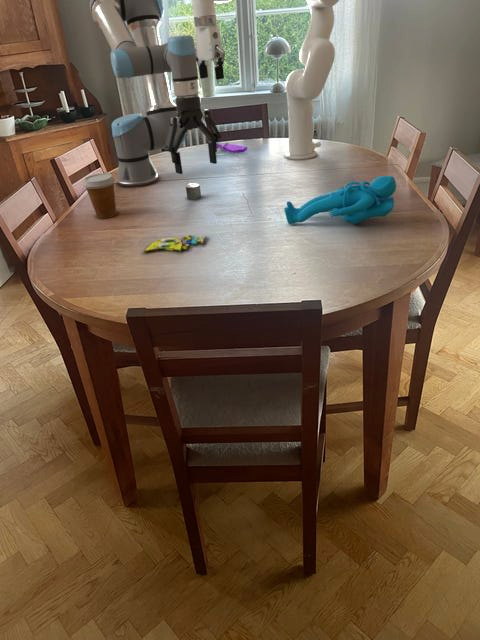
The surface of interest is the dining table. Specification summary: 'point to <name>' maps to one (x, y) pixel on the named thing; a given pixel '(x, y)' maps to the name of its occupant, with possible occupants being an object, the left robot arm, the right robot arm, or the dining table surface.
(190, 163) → the dining table surface
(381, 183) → the toy
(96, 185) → the disposable coffee cup
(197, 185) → the canister
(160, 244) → the toy
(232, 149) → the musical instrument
